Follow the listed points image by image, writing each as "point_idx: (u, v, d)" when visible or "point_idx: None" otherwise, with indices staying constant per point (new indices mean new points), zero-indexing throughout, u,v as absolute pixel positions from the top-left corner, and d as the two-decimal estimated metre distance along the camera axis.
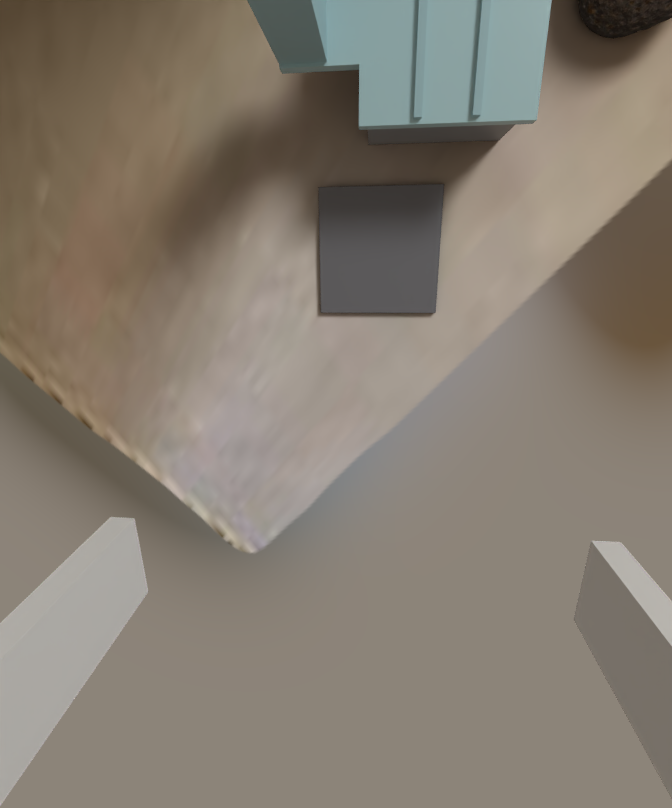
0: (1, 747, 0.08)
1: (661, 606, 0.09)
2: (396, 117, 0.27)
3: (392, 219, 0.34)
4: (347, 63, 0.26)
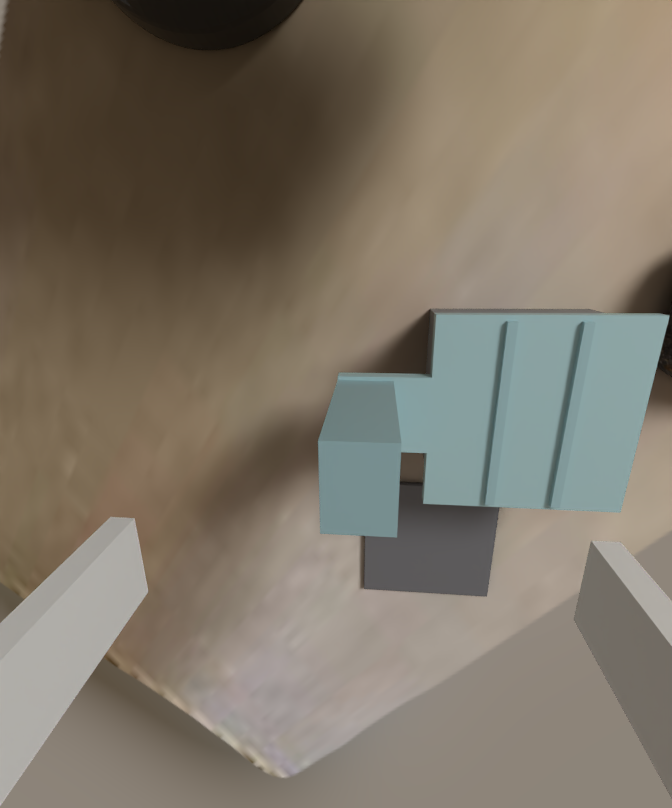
0: (1, 747, 0.08)
1: (661, 606, 0.09)
2: (465, 499, 0.24)
3: (444, 515, 0.32)
4: (413, 450, 0.24)
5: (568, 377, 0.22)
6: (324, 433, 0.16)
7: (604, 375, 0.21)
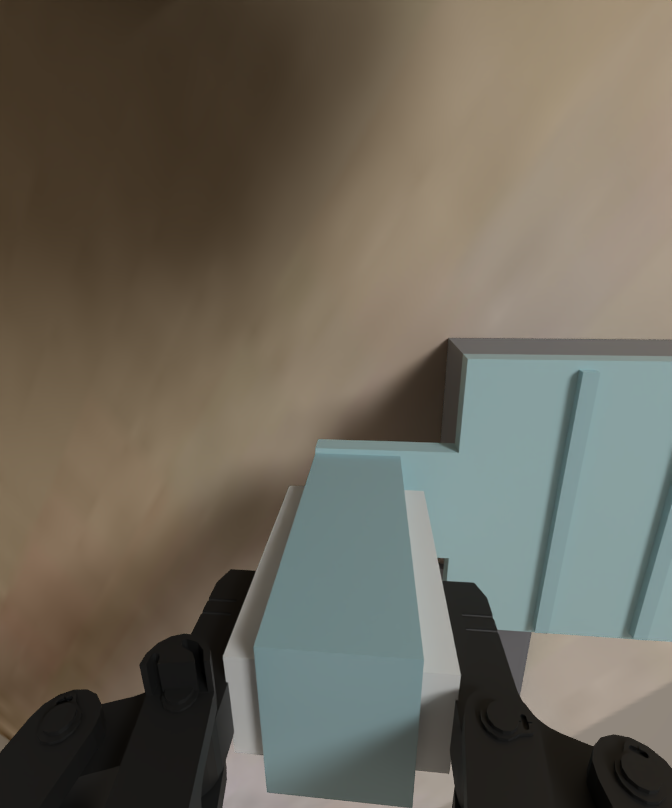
0: None
1: (420, 531, 0.12)
2: (504, 622, 0.17)
3: None
4: None
5: None
6: (270, 617, 0.08)
7: None
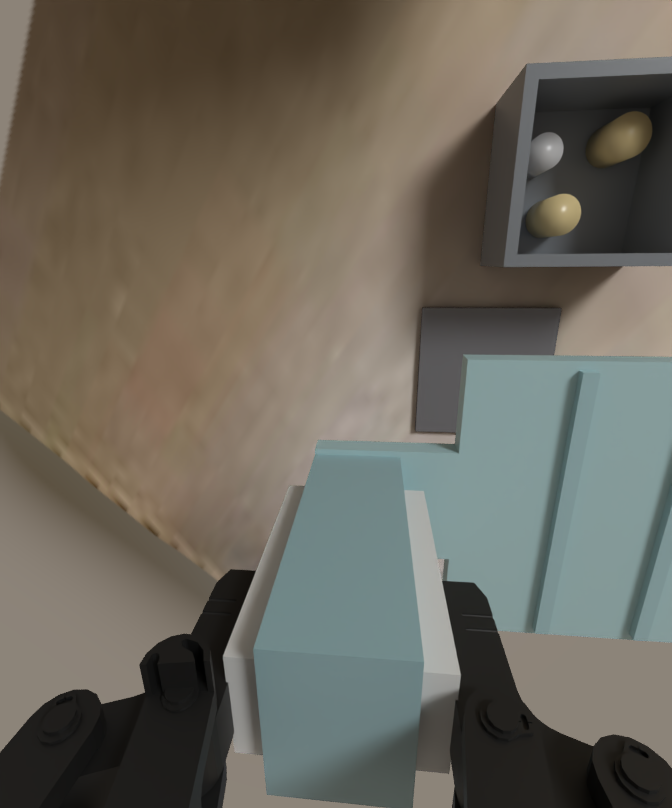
0: None
1: (420, 532, 0.12)
2: (504, 623, 0.17)
3: (501, 341, 0.32)
4: None
5: None
6: (270, 618, 0.08)
7: None
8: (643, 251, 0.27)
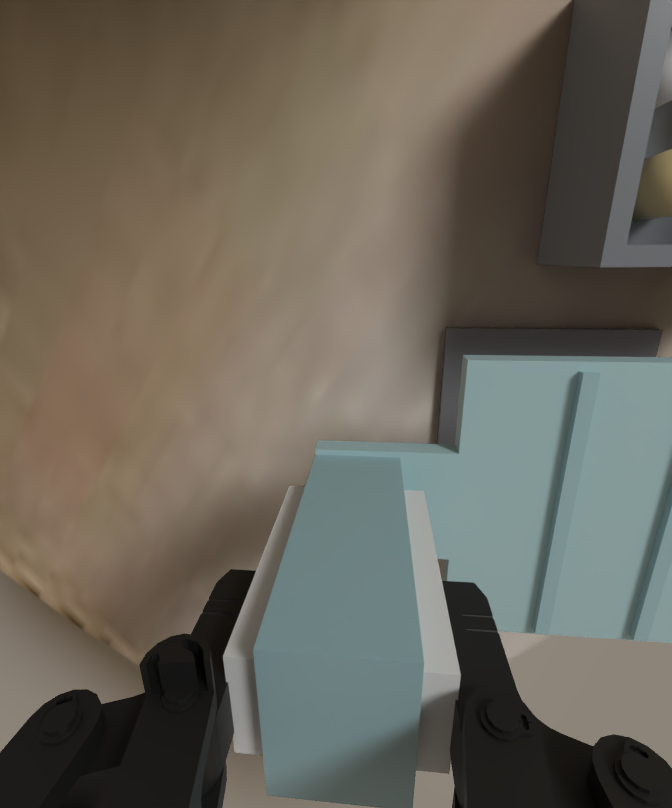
0: None
1: (420, 531, 0.12)
2: (504, 623, 0.17)
3: None
4: None
5: None
6: (270, 619, 0.08)
7: None
8: None
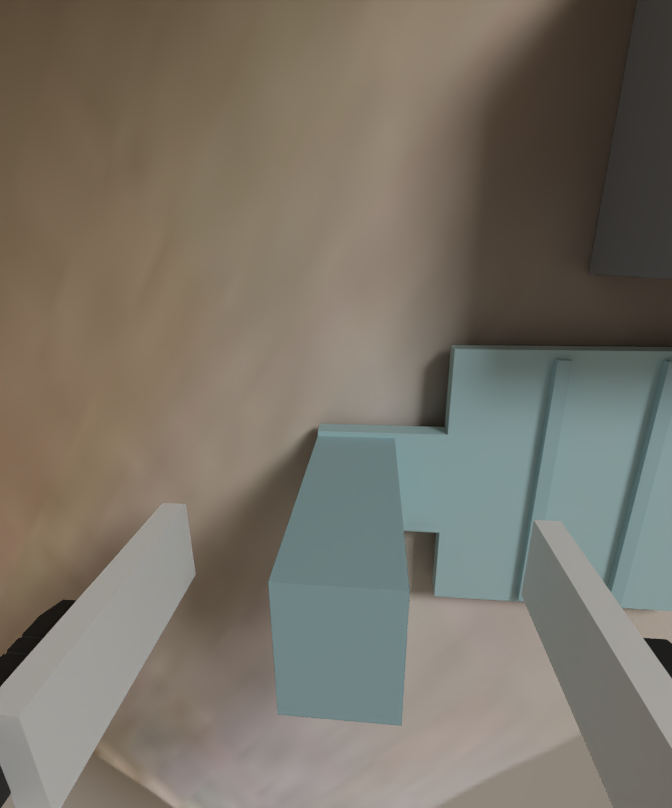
0: (88, 707, 0.09)
1: (585, 575, 0.10)
2: (490, 592, 0.18)
3: None
4: (421, 529, 0.18)
5: (640, 436, 0.15)
6: (282, 561, 0.10)
7: None
8: None
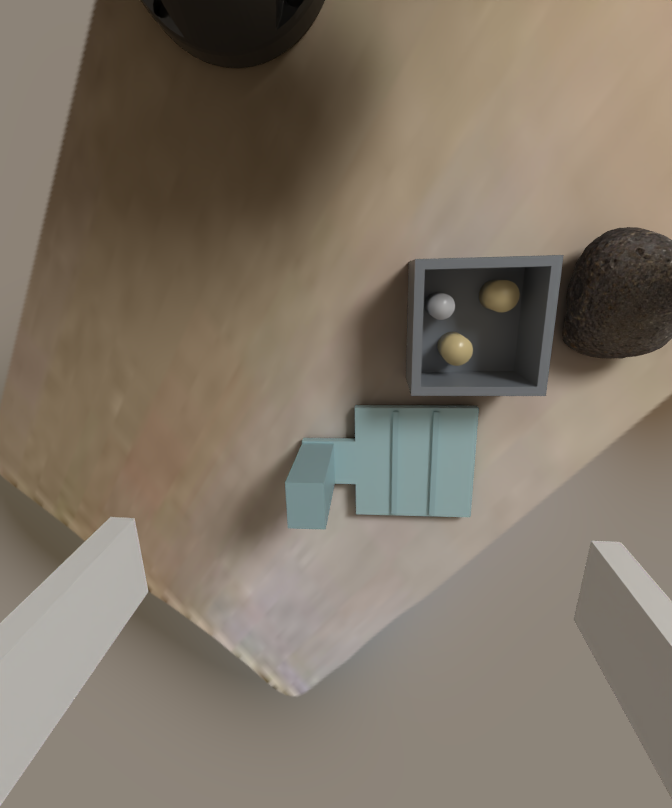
0: (1, 747, 0.08)
1: (661, 606, 0.09)
2: (380, 511, 0.41)
3: None
4: (348, 482, 0.41)
5: (430, 440, 0.39)
6: (288, 478, 0.33)
7: (449, 439, 0.38)
8: (524, 376, 0.34)
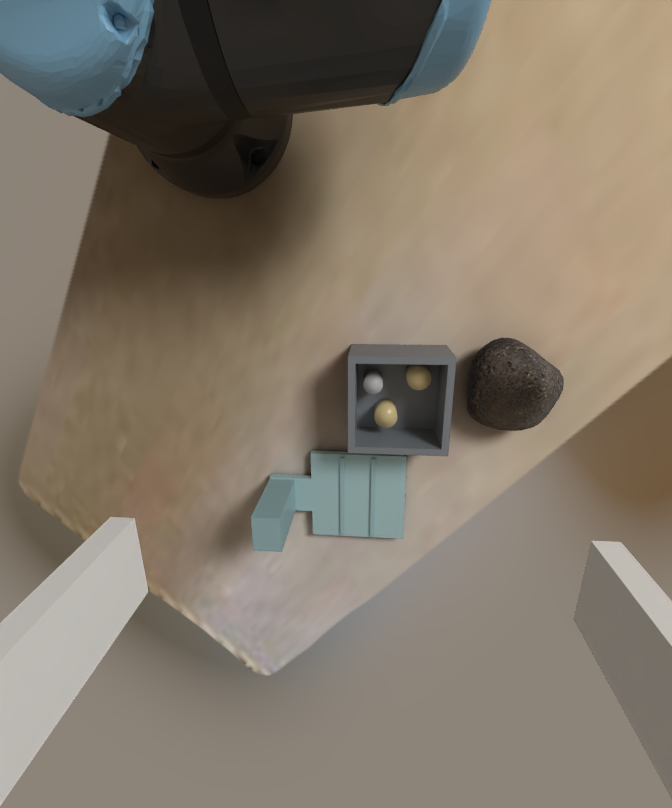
0: (1, 747, 0.08)
1: (661, 606, 0.09)
2: (332, 532, 0.52)
3: None
4: (306, 509, 0.51)
5: (369, 479, 0.49)
6: (254, 513, 0.43)
7: (384, 479, 0.49)
8: (437, 436, 0.44)
